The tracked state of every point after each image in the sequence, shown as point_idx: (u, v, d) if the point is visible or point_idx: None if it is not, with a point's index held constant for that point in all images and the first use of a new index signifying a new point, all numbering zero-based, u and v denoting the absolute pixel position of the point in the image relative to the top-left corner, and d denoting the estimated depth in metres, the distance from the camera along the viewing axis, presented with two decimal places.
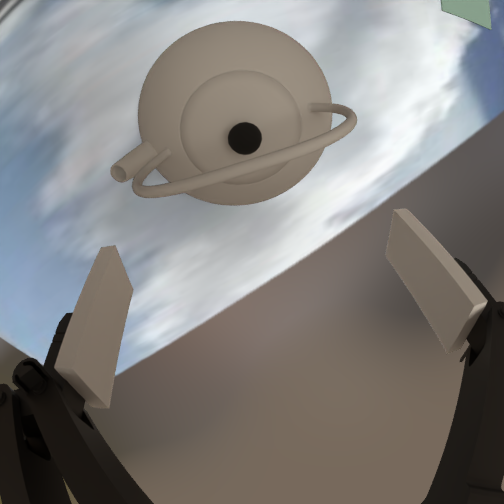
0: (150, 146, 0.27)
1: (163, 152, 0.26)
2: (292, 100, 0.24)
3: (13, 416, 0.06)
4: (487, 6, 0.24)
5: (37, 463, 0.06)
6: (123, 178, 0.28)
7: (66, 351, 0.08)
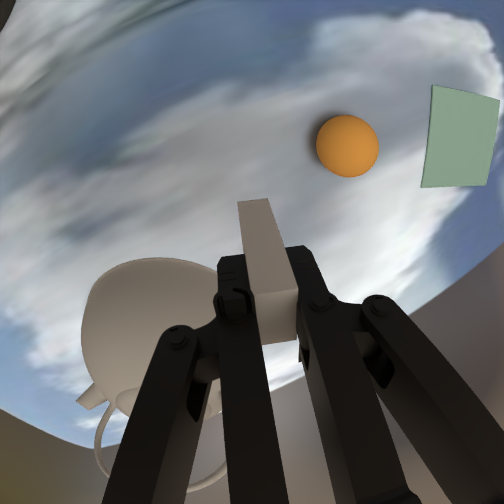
0: (100, 392, 0.31)
1: (110, 409, 0.30)
2: None
3: (188, 368, 0.08)
4: (489, 154, 0.28)
5: (186, 424, 0.07)
6: None
7: (259, 280, 0.10)
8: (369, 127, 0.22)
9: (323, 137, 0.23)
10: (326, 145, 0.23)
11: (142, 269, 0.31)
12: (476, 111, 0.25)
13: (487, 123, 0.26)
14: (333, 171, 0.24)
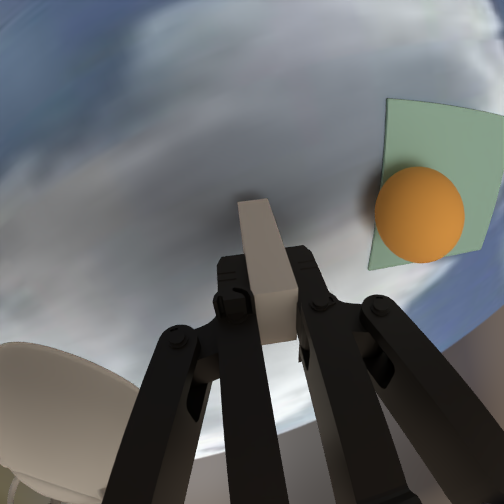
0: None
1: None
2: (80, 494, 0.18)
3: (188, 368, 0.08)
4: (491, 205, 0.19)
5: (186, 424, 0.07)
6: None
7: (259, 280, 0.10)
8: (409, 191, 0.13)
9: None
10: None
11: (16, 356, 0.21)
12: (472, 139, 0.16)
13: (491, 157, 0.16)
14: None
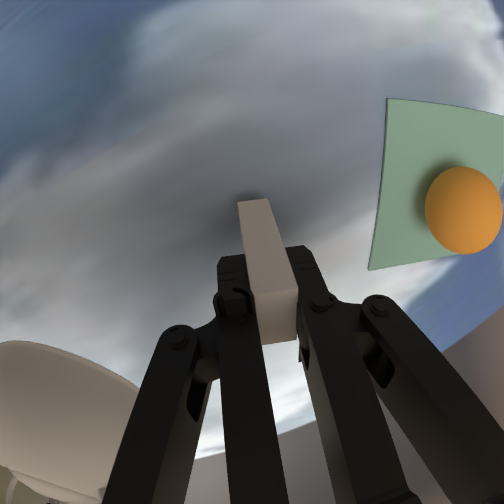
0: None
1: None
2: (78, 494, 0.18)
3: (189, 368, 0.08)
4: None
5: (186, 424, 0.07)
6: None
7: (259, 279, 0.10)
8: (494, 195, 0.13)
9: (432, 190, 0.16)
10: (432, 203, 0.15)
11: (16, 355, 0.21)
12: (472, 139, 0.16)
13: (491, 157, 0.16)
14: (435, 238, 0.17)
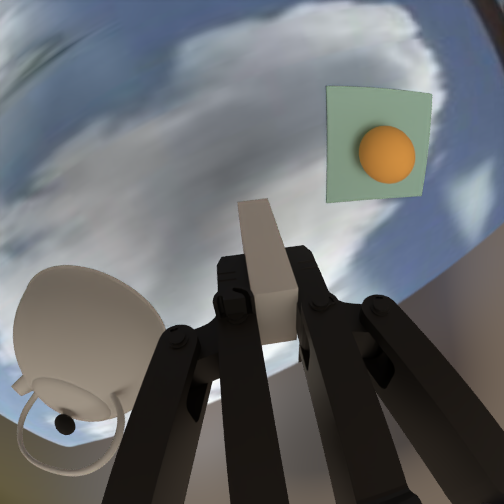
0: None
1: (33, 395, 0.29)
2: (93, 397, 0.27)
3: (188, 368, 0.08)
4: (423, 159, 0.28)
5: (186, 424, 0.07)
6: None
7: (259, 280, 0.10)
8: (402, 139, 0.23)
9: (361, 141, 0.25)
10: (360, 148, 0.25)
11: (57, 275, 0.31)
12: (396, 110, 0.25)
13: (415, 122, 0.26)
14: (367, 173, 0.26)
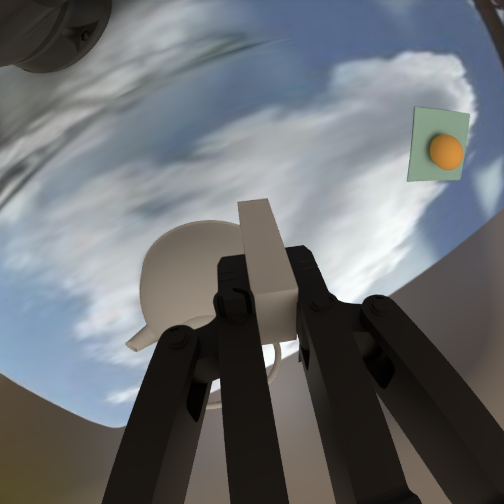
0: (152, 333, 0.41)
1: None
2: None
3: (188, 368, 0.08)
4: None
5: (186, 424, 0.07)
6: (134, 347, 0.42)
7: (259, 280, 0.10)
8: (457, 144, 0.34)
9: (432, 143, 0.37)
10: (432, 147, 0.37)
11: (205, 227, 0.42)
12: (449, 123, 0.37)
13: (459, 132, 0.37)
14: (435, 163, 0.38)
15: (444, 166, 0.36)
